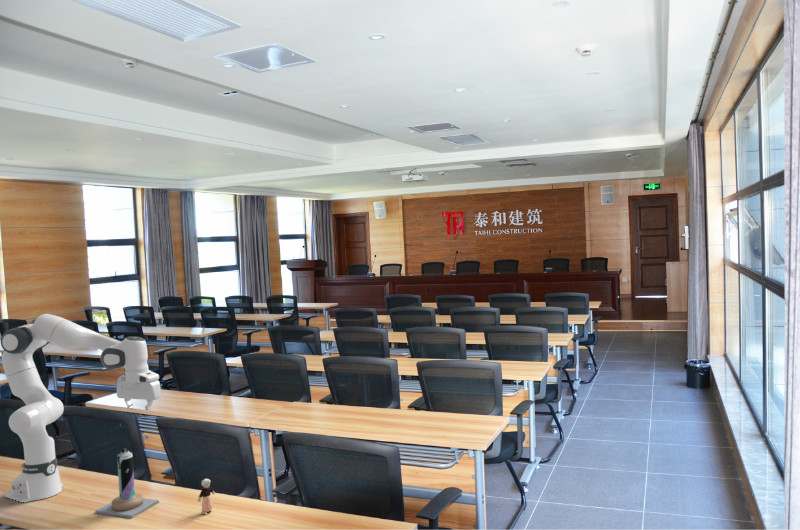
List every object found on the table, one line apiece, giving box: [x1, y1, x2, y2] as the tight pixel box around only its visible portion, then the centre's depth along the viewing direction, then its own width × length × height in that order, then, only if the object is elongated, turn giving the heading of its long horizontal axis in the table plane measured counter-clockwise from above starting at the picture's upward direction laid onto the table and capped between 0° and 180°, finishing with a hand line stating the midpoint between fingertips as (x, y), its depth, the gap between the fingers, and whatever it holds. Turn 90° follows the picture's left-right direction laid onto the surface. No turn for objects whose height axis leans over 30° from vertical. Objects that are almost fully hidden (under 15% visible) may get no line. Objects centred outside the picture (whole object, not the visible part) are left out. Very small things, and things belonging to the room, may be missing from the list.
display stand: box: [95, 492, 160, 519], centre depth 235 cm, size 18×14×4 cm
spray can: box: [116, 447, 136, 502], centre depth 234 cm, size 6×6×20 cm
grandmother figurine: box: [197, 478, 216, 515], centre depth 227 cm, size 8×4×13 cm, turn 160°
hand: (139, 409), depth 247 cm, fingers open, 8 cm apart
